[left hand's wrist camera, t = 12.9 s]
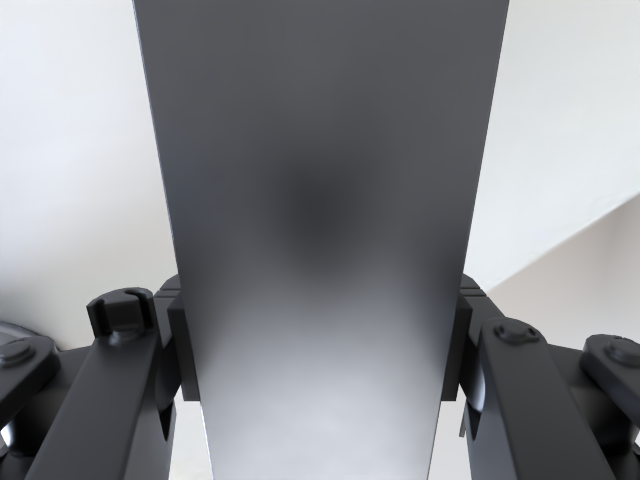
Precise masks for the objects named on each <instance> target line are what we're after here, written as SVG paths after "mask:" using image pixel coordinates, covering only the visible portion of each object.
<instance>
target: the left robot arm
mask: <svg viewBox="0 0 640 480" xmlns="http://www.w3.org/2000/svg"><path fill="white" fill-rule="evenodd" d="M86 308H87V311H88V315H89V318H90V322H91V325H92V329H93V332H94V336H95V340H94V342H93V344H92V345H91V346H87V347H82V348H77V349H72V350H67V351H61V352H60V351H59V350H58V349H57V348H56V346H55V343H54V341H53V340H52V339H51V338H49V337H45V336H38V335H37V334H35V333H33V332H31V331H28V330H26V329H24V328H21V327H18V326H15V325H12V324H8V323H4V322H0V480H168V478H169V470H170V462H171V454H172V445H173V437H174V429H175V421H176V408H175V403H174V397H175V395H176V393H177V391H178V389H179V387H180V385H181V388H182V393H183V399H184V401H200V399H199V393H198V387H197V381H196V375H195V369H194V363H193V357H192V351H191V345H190V339H189V333H188V328H187V322H186V316H185V310H184V304H183V298H182V292H181V286H180V280H179V274H177V275H175V276H173V277H171V278H170V279H168V280H167V281H166V282H165V283H164V284H163V286H162V287H161V288H160V291H157V293H156V294H155V295H154V296H153V294H152V292H151V291H149V290H148V289H144V288H139V287H134V288H123V289H118V290H114V291H111V292H108V293H105V294H103V295H101V296H99V297H97V298H96V299H94V300H92V301H91V302H90V303H89V304H88V305H87V306H86ZM459 383H460V385H461V387H462V389H463V392H464V394H465V396H466V403H465V408H464V413H463V418H462V423H461V428H460V433H459V436H460V437H464V434H465V430H466V436H467V445H468V453H469V461H470V469H471V477H472V480H640V447H639V446H638V445H637V444H636V443H635V440H636V437H637V435H638V433H639V431H640V344H638V343H636V342H634V341H633V340H630V339H627V338H622V337H620V336H616V335H605V334H598V335H592V336H590V337H589V338H587V339H586V342H585V345H584V348H583V351H582V350H577V349H571V348H566V347H561V346H556V345H551V344H548V343H547V341H546V339H545V338H544V336H543V335H542V334H541V333H540V332H539V331H538V330H537V329H535V328H534V327H532V326H531V325H529V324H527V323H524V322H522V321H520V320H517V319H512V318H508V317H505V316H504V315H503V313H502V312H501V311H500V310H499V309H498V308H497V306H496V305H495V304H494V303H493V302H492V301H491V299H490V298H489V297H487V296H486V294H485V293H484V291H483V290H482V289H480V287H479V286H478V284H477V283H476V282H475V281H474V280H473V279H472V278H470V277H469V276H467V275H465V274H464V273H463V276H462V282H461V287H460V293H459V299H458V305H457V311H456V317H455V323H454V329H453V334H452V340H451V346H450V352H449V358H448V364H447V370H446V375H445V381H444V387H443V393H442V399H441V401H456V397H457V392H458V387H459Z"/></svg>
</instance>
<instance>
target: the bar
mask: <svg viewBox="0 0 640 480" xmlns="http://www.w3.org/2000/svg"><path fill="white" fill-rule="evenodd" d="M132 2H133V8H134V14H135V20H136V26H137V31H138V37H139V43H140V49H141V55H142V61H143V67H144V73H145V79H146V85H147V91H148V97H149V103H150V108H151V114H152V120H153V126H154V132H155V138H156V144H157V150H158V156H159V162H160V168H161V174H162V180H163V185H164V191H165V197H166V203H167V209H168V215H169V221H170V227H171V233H172V239H173V245H174V251H175V257H176V262H177V268H178V274H179V280H180V286H181V292H182V298H183V304H184V310H185V316H186V322H187V328H188V333H189V339H190V345H191V351H192V357H193V363H194V369H195V375H196V381H197V387H198V393H199V399H200V405H201V410H202V416H203V422H204V428H205V434H206V440H207V446H208V452H209V458H210V464H211V470H212V476H213V480H428V475H429V469H430V464H431V458H432V452H433V446H434V440H435V434H436V428H437V422H438V417H439V411H440V405H441V399H442V393H443V387H444V381H445V375H446V370H447V364H448V358H449V352H450V346H451V340H452V334H453V329H454V323H455V317H456V311H457V305H458V299H459V293H460V287H461V282H462V276H463V270H464V264H465V258H466V252H467V246H468V240H469V235H470V229H471V223H472V217H473V211H474V205H475V199H476V193H477V188H478V182H479V176H480V170H481V164H482V158H483V152H484V146H485V141H486V135H487V129H488V123H489V117H490V111H491V105H492V99H493V94H494V88H495V82H496V76H497V70H498V64H499V58H500V52H501V47H502V41H503V35H504V29H505V23H506V17H507V11H508V5H509V0H132Z"/></svg>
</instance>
